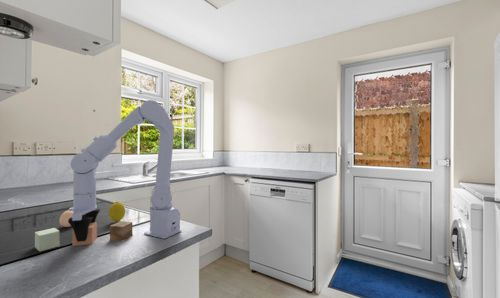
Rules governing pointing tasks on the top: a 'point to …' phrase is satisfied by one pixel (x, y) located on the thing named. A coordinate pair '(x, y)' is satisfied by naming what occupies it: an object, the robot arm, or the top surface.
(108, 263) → the top surface
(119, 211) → the lemon
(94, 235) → the terracotta block
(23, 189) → the top surface
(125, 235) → the walnut block
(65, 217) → the egg
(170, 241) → the top surface
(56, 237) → the sage block
